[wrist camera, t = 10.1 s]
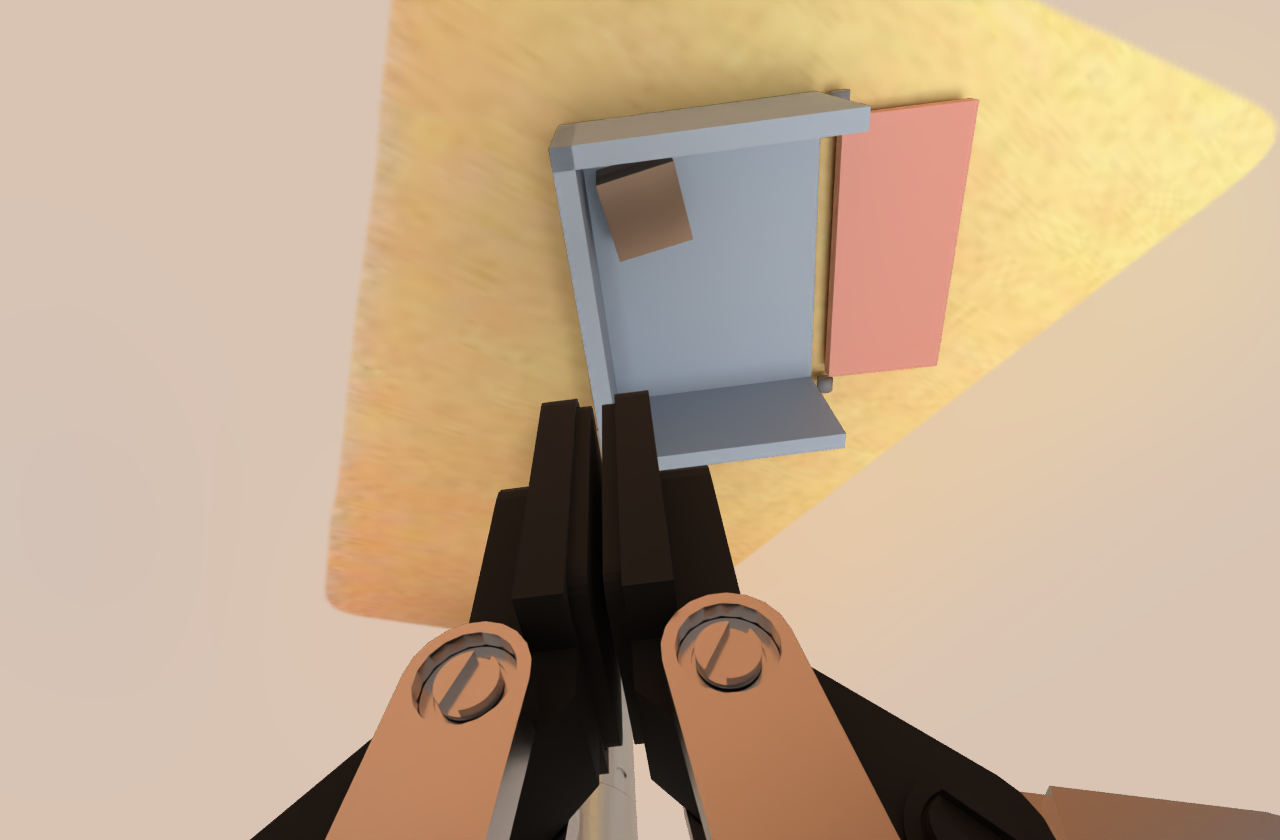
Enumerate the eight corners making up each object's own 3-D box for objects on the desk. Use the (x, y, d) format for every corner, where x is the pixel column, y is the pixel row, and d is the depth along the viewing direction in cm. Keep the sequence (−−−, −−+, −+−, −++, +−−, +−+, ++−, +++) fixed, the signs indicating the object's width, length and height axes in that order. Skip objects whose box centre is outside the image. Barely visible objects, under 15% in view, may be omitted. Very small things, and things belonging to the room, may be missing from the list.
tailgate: (823, 367, 42) (928, 355, 42) (828, 376, 41) (937, 365, 41) (835, 113, 34) (966, 97, 34) (843, 116, 33) (979, 99, 32)
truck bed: (826, 379, 43) (868, 444, 36) (605, 407, 43) (606, 477, 37) (841, 87, 34) (903, 102, 27) (558, 125, 34) (548, 148, 27)
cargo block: (684, 219, 36) (693, 239, 32) (617, 240, 36) (619, 262, 33) (666, 147, 34) (673, 160, 30) (596, 170, 34) (595, 186, 31)
